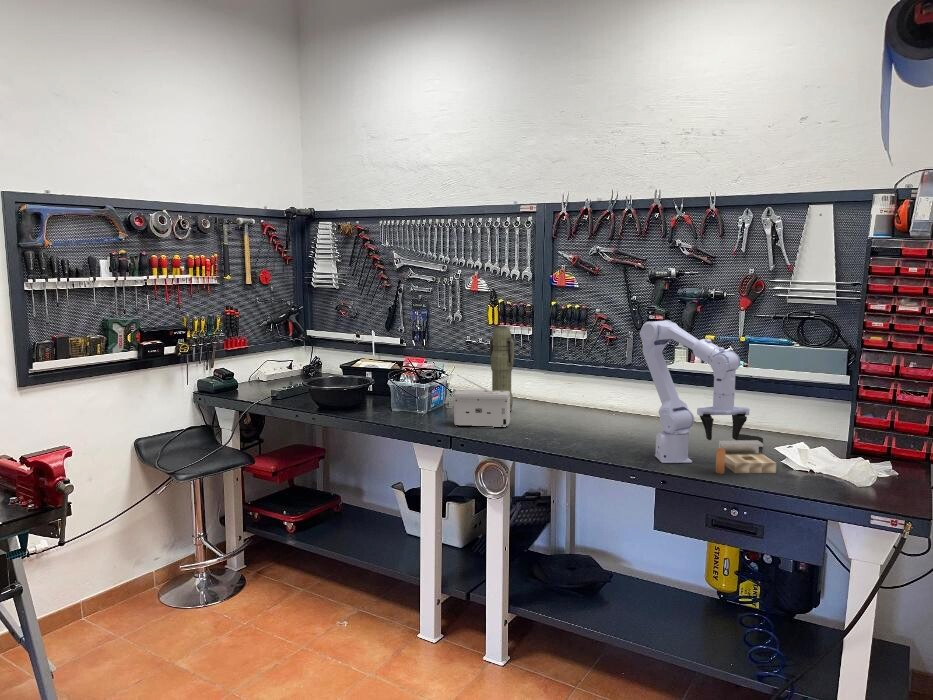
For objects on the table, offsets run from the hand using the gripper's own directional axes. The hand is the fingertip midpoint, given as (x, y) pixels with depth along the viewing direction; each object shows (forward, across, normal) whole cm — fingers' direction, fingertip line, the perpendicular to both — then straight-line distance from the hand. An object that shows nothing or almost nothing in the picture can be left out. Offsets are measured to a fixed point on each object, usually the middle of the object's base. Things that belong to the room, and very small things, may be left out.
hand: (721, 439), depth 201 cm
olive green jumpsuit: (+10, -59, +83) cm, 102 cm away
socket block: (+10, +10, +4) cm, 15 cm away
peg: (+10, 0, 0) cm, 10 cm away
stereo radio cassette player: (+10, -68, +58) cm, 90 cm away
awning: (+10, +10, +10) cm, 17 cm away
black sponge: (+10, +18, +23) cm, 31 cm away
